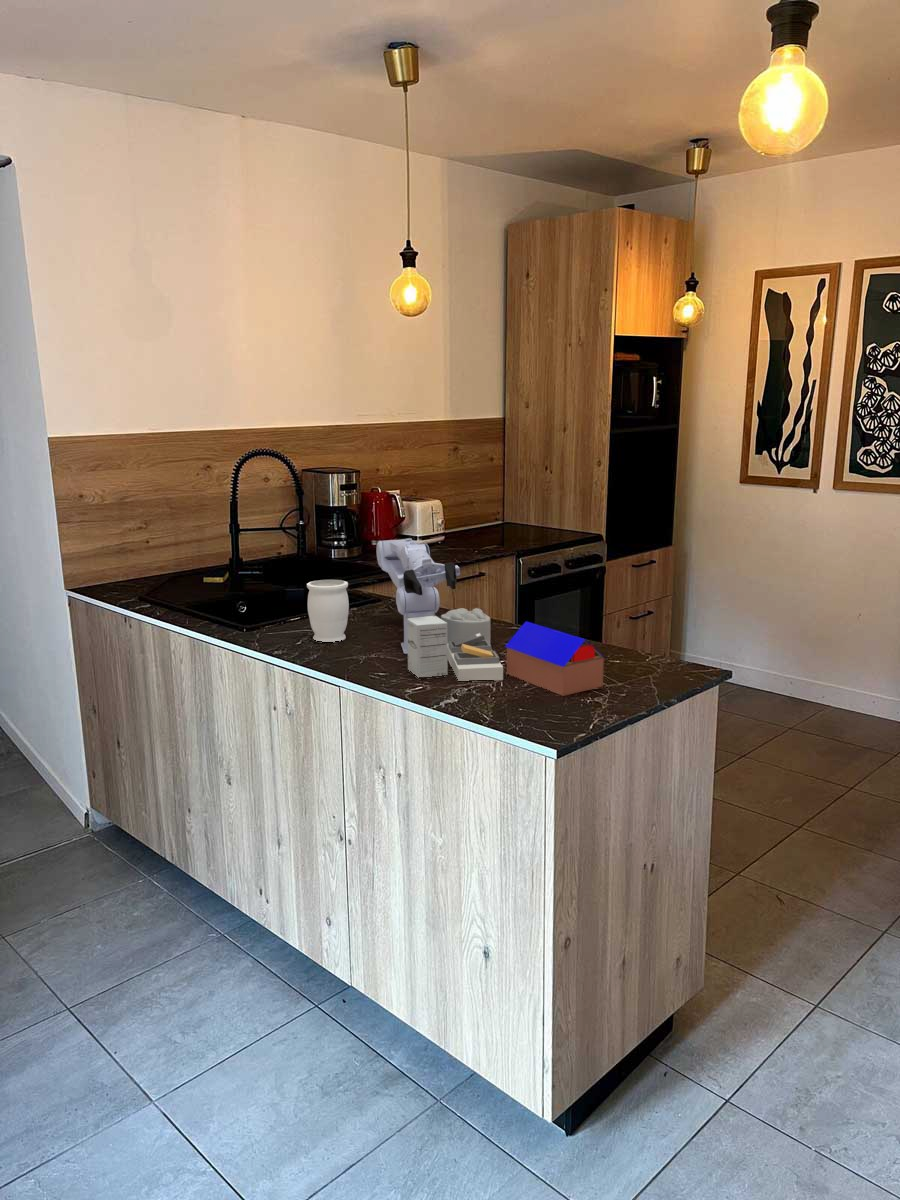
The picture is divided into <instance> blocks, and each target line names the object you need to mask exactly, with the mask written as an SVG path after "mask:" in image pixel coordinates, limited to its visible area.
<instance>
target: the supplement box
mask: <svg viewBox="0 0 900 1200" xmlns="http://www.w3.org/2000/svg"><path fill="white" fill-rule="evenodd" d="M407 633H408V654H407V671H408V670H409V671H408V672H410V671H411V672H412V673H413V674H415V675H416V676H417V677H418V678H419V677H432V676H442V675H449V674H448V670H449V669H448V668H449V667H448V664H449V663H448V662H449V661H448V658H447V622H445V621H443V620H442V619H441V617H438V616H437V615H435V616H426V617H416V618H408V619H407ZM411 672H410V673H411ZM412 673H411V674H412ZM413 674H412V675H413ZM416 676H415V677H416ZM417 677H416V678H417ZM418 678H417V679H418Z"/></svg>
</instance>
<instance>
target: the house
mask: <svg viewBox="0 0 900 1200" xmlns="http://www.w3.org/2000/svg"><path fill="white" fill-rule="evenodd" d="M504 648H506V675H508V674H509V675H508V676H511V677H513V676H514V678H516V677H517V679H518V678H519V680H521V681H523V680H524V682H527V683H529V684H532V685H534V686H537V687H539V688H541V687H542V688H541V689H544V690H546V689H547V690H546V691H549V690H550V691H549V692H552V693H553V694H558V695H559V696H562V697H563V696H564V697H565V696H570V695H573V694H576V693H580V692H581V693H582V692H584V691H585V692H586V691H590V690H593V689H594V690H595V689H598V688H602V687H603V686H604V659H605V656H604V655H603V654H602V653H601V652H600V650H598V649H597V648H596V647H595V646H593V645H592V643H590V642H589V641H588V640H587V639H586V638H583V637H579V636H575V635H572V634H570V633H565V632H562V631H560V630H556V629H553V628H549V627H546V626H544V625H543V626H542V625H539V624H536V623H533V622H530V621H527V620H526V621H525V622H524V623H523V624H522V625H521V626H520V627H519V629H517V631H516V632H515V634H514V635H513V636H512V637H511V638H510V639H509V641H508V643H507V644H505V646H504Z"/></svg>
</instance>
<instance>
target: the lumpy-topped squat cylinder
mask: <svg viewBox="0 0 900 1200" xmlns="http://www.w3.org/2000/svg"><path fill="white" fill-rule="evenodd" d="M440 619H442V620H443V621H445V622H447V643H448V641H457V640H460V639H463V638H465V637H468V636H471V635H474V634H477V633H479V632H481V633H482V634H483V636H484V638H485V640H488V642H489V643H490V644H491V617H490V616H488V615H487V614H486V613H484V612H483V610H482V609H481V608H479V607H475V608H473V609H472V610H468V609H467V608H463V607H462V608H457V609H451V610H448V611H447V612H445V613H443V614H441V616H440Z"/></svg>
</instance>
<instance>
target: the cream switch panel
mask: <svg viewBox="0 0 900 1200" xmlns="http://www.w3.org/2000/svg"><path fill="white" fill-rule="evenodd" d="M469 646H472V647H476V648H480V649H483V650H487V651H491V652H492V654H493V657H486V658H483V657H480V656H476V655H472V654H469V653H465V652H463V651H462V649H461V647H455V645H454V641H448V643H447V658H448V662H449V663H448V664H449V665H450V667H452V668H451V670H452V669H453V670H452V672H453V671H454V672H453V674H454V673H455V674H454V676H455V675H456V676H455V678H456V677H457V678H456V680H457V679H458V680H457V682H458V681H469V680H494V681H503V680H504V666H503V665H502V664H501V663H502V662H500V656H499V655H498V653H497V652H496V651H495V650H493V649H492V645H491V642H490V643H489V642H488V640H482V641H479V642H476V643H474V644H471V645H469Z"/></svg>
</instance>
